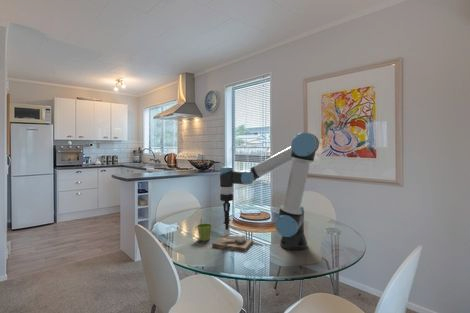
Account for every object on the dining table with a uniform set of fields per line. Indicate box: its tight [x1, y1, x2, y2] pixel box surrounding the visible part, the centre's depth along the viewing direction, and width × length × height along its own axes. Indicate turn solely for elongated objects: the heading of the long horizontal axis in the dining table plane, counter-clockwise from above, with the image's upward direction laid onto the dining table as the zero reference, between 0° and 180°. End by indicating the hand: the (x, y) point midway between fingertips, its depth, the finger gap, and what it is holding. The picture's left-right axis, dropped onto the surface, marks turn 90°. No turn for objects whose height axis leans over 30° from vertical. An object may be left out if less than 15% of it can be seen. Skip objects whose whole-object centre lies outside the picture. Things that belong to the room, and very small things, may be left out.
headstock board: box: [211, 236, 254, 252], centre depth 155 cm, size 20×16×2 cm
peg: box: [219, 224, 246, 243], centre depth 157 cm, size 15×6×11 cm, turn 85°
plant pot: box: [196, 223, 213, 242], centre depth 166 cm, size 9×9×9 cm
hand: (227, 233), depth 157 cm, fingers open, 3 cm apart
